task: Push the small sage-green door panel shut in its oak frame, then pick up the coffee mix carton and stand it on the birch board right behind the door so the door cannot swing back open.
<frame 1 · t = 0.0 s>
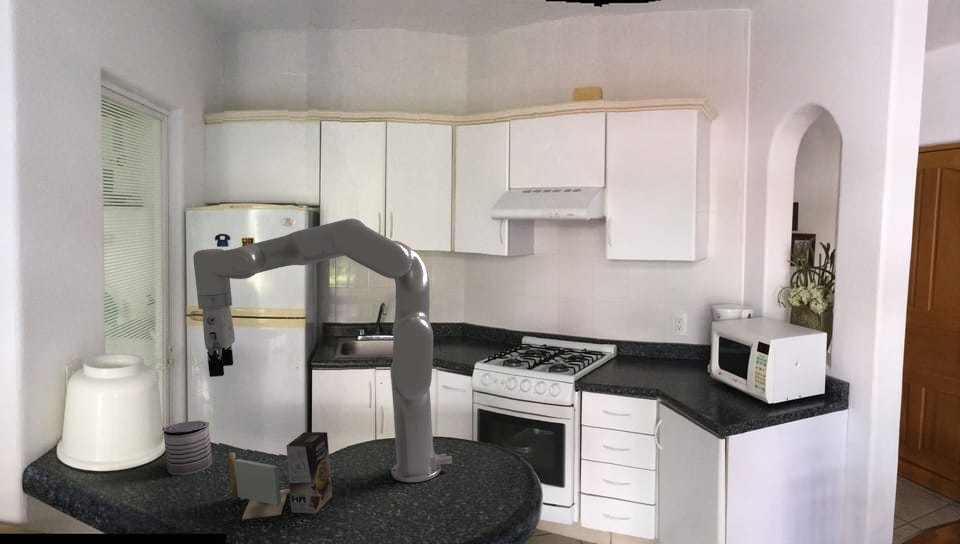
hand: (221, 370, 155), 31 cm above the counter, tool pointing down, fingers open, 9 cm apart
frame: (235, 498, 156), on the counter
can: (190, 467, 177), on the counter
door: (257, 481, 151), point 5 cm above the counter, hinge at 35.0°
coffee box: (312, 505, 151), on the counter
board: (265, 506, 150), on the counter
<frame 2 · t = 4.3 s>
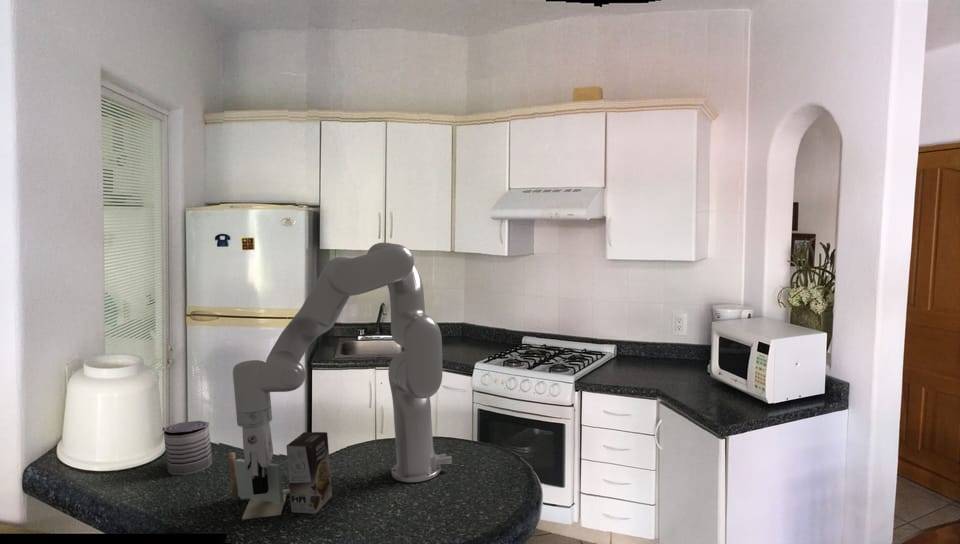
hand: (261, 492, 147), 5 cm above the counter, tool pointing down, fingers closed
door: (259, 480, 152), point 6 cm above the counter, hinge at 31.1°, touching gripper
everything else where it was.
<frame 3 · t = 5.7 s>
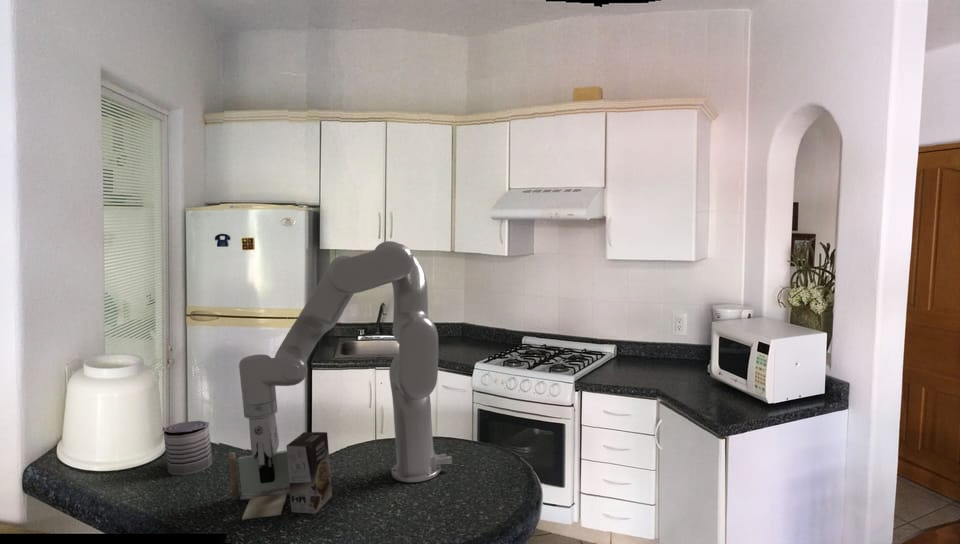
hand: (267, 481, 154), 5 cm above the counter, tool pointing down, fingers closed
door: (267, 471, 157), point 6 cm above the counter, hinge at -6.3°, touching gripper
everything else where it was.
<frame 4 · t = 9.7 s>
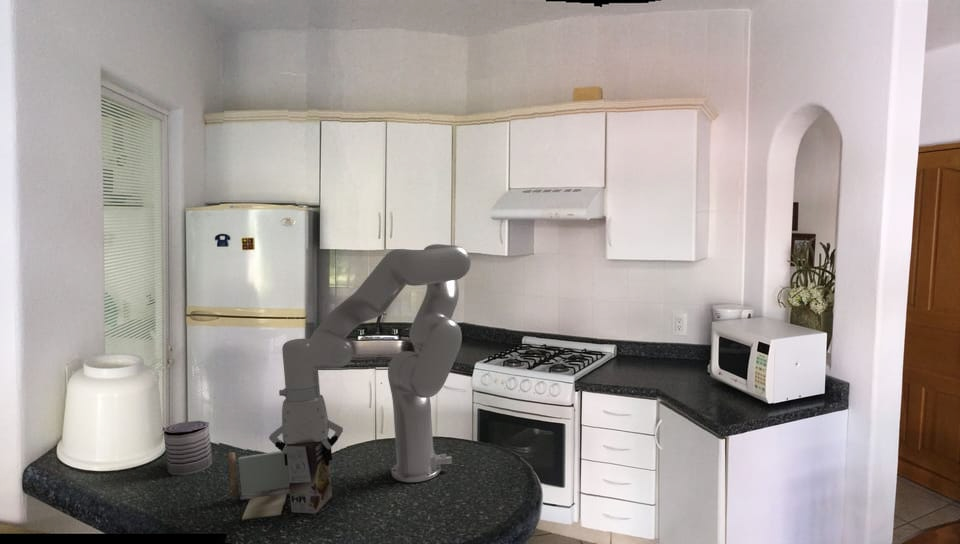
hand: (309, 465, 149), 10 cm above the counter, tool pointing down, fingers closed on coffee box, 7 cm apart
door: (267, 471, 157), point 6 cm above the counter, hinge at -6.4°
coffee box: (312, 505, 151), on the counter, touching gripper
everything else where it was.
when the fingers open (11 cm above the counter, at t = 16.1 s): coffee box stays where it is, resting on board.
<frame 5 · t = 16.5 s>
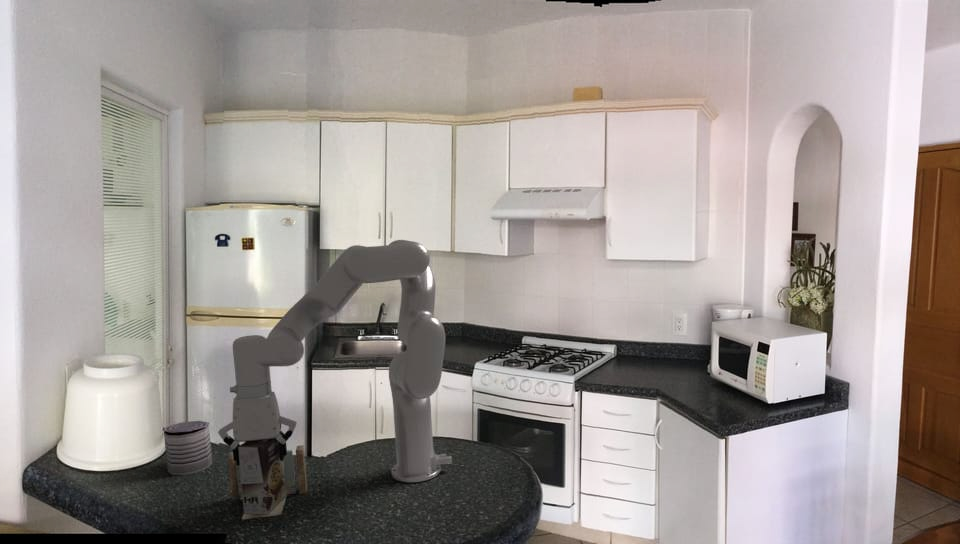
hand: (261, 460, 149), 11 cm above the counter, tool pointing down, fingers open, 9 cm apart
coffee box: (266, 505, 150), resting on board
everything else where it was.
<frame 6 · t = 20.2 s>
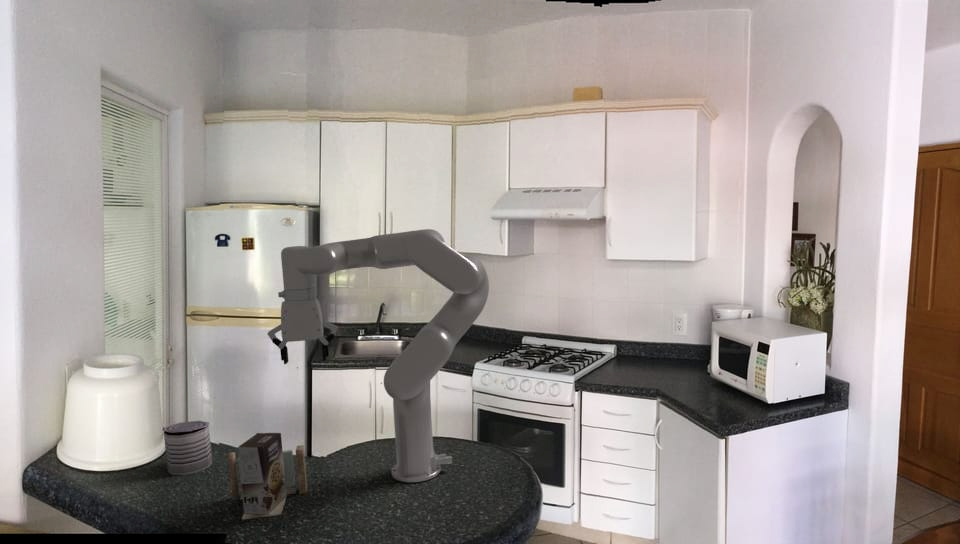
hand: (305, 361, 164), 30 cm above the counter, tool pointing down, fingers open, 9 cm apart
nothing on the counter moved.
at the end: door at -6° (first picture: +35°); coffee box inside the target area (0.3 cm from its centre), resting on board; coffee box tilted 0° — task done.
